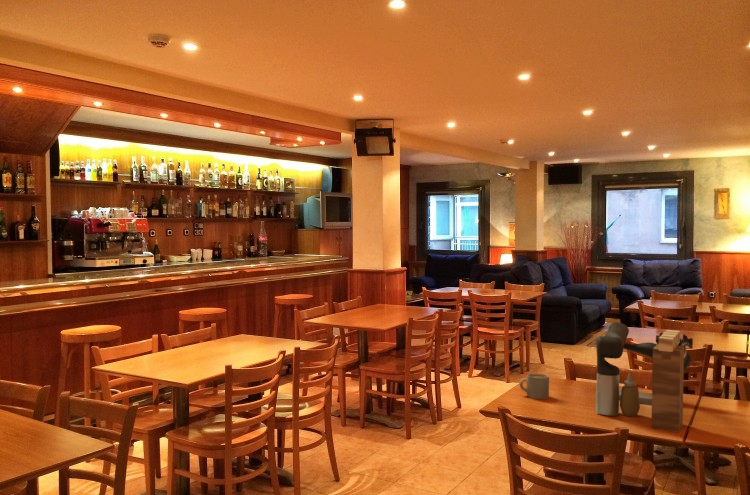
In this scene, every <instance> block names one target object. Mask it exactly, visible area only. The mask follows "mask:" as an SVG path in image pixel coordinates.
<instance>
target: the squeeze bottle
mask: <svg viewBox="0 0 750 495" xmlns="http://www.w3.org/2000/svg"><path fill="white" fill-rule="evenodd" d="M621 390H622V391H621V399H620V400H619V409H620V411H621V414H622V415H623V416H626V417H637V416H638V414H639V412H640V409H641V403H640V402H639V392H640V391H639V388H638V387H637V381H635V380H634V378H633V374H632V373H631V372H628V375H627V378H626V380H624V381H623V386H622V387H621Z"/></svg>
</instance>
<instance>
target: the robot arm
mask: <svg viewBox="0 0 750 495" xmlns="http://www.w3.org/2000/svg"><path fill="white" fill-rule="evenodd" d="M629 333H630V329H629V327H628V326H627V325H626V324H624V323H622V322H617V321H615V322H611V323H610V325H609V327H608V330H607V332H606V333H605V335H603V336H602V335H599V336H598V337H597V338H596V388H595V412H596V414H597V415H602V416H618V415H619V414H620V413H619V412H620V400H619V391H620V368H619V367H618V366H616V365H614V364H612V363H610V362H608V361H607V360H606V359H615V360H616V359H620V358H622V356H623V354H624V350H626V351H629V352H633V353H637V354H639V355H643V356H646V357H648V358H651V359H653V348H654V347H655V346H656V345H657V344H659V337H660V336H661V335H662V334H663V333H664V332H660V333H659V335H655V343H654V342H649V341H648V342H641V343H628V342H626V341H627V338H628V337H629V336H628V335H629ZM693 344H694V342H693V338H692V337H691V338H689V337H688V335H686V334H682V337H680V343H679V344H678V346H684V373H685V372H686V370H687V368H688V367H689V364H690V363H691V361H692V356H691V355H690V353H688V352H687V347H688V349H693Z"/></svg>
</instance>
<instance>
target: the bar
mask: <svg viewBox="0 0 750 495" xmlns="http://www.w3.org/2000/svg"><path fill="white" fill-rule="evenodd" d="M662 333H663V334H662V335H661V336H660V337H659V351H668V352H673V351H674V349H675V348H676V347H677V346H678V344H679V343H680V338H681V330H674V329H673V330H672V329H666V330H665V331H664V332H662Z"/></svg>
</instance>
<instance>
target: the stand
mask: <svg viewBox="0 0 750 495" xmlns="http://www.w3.org/2000/svg"><path fill="white" fill-rule="evenodd" d="M656 344H657V343H656ZM684 374H685V372H684V346H677V347H676V348H675V349H674V351H673V352H668V351H659V344H657V345H656V346H655V347H654V348H653V358H652V374H651V375H652V376H651V377H652V378H651V381H652V383H651V386H652V388H651V393H652V405H651V429H658V430H663V431H668V430H669V432H675V431H677V432H676V433H680V431H681V429H682V427H683V425H682V424H684V421H683V419H684V414H683V413H684Z"/></svg>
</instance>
